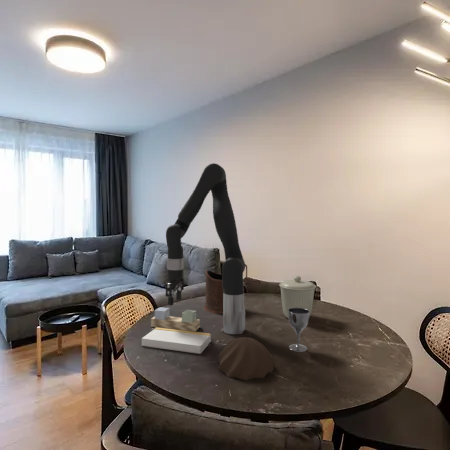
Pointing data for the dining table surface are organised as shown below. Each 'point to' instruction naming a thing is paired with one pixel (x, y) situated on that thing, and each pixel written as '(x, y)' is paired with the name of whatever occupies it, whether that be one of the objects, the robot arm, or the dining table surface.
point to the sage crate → (189, 316)
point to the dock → (177, 340)
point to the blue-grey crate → (161, 313)
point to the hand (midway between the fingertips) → (174, 302)
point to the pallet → (175, 323)
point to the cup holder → (215, 292)
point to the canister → (297, 294)
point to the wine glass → (298, 325)
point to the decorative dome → (245, 359)
